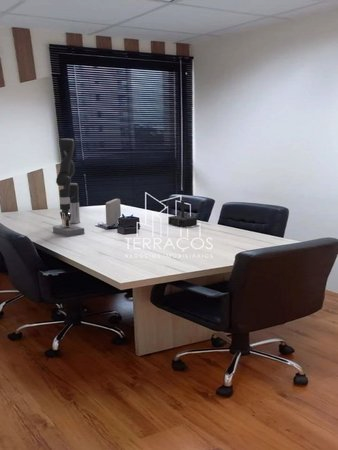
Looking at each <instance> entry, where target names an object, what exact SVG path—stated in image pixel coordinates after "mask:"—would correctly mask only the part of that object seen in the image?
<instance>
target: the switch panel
mask: <svg viewBox="0 0 338 450" xmlns="http://www.w3.org/2000/svg"><path fill="white" fill-rule="evenodd" d="M52 232H53V233H55V234H58V235H62V236H65V237H73V236H78V235H85V228H84V227H80V226H78V225H74V224H70V226H69V227H62V225H56V226H52Z"/></svg>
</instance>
